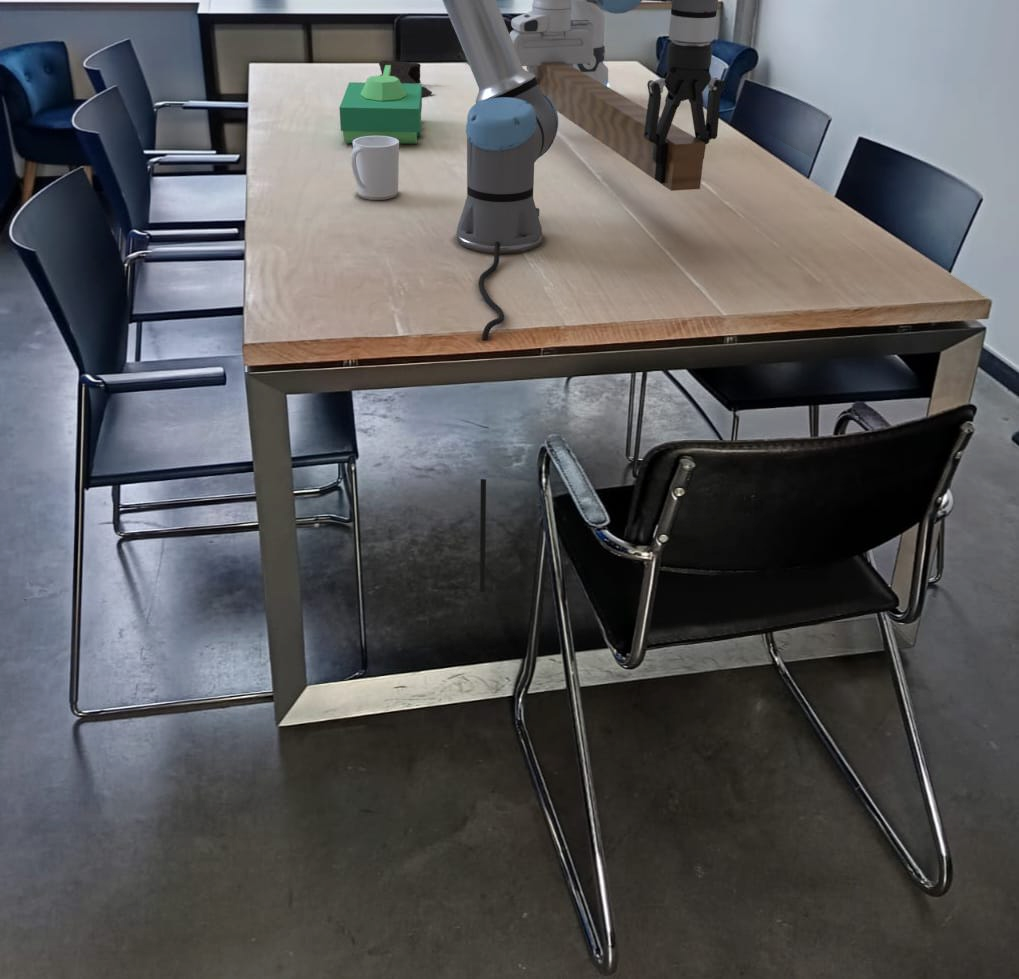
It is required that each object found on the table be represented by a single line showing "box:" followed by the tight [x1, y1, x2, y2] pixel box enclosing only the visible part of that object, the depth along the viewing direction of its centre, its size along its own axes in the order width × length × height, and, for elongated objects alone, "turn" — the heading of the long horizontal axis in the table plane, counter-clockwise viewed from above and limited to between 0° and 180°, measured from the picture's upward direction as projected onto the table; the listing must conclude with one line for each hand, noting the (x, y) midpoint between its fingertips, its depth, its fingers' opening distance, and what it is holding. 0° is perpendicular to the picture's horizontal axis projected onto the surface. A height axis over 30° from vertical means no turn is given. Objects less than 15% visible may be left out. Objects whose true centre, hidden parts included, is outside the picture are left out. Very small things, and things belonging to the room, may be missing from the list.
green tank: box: [339, 65, 423, 145], centre depth 261 cm, size 18×12×35 cm
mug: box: [350, 136, 400, 201], centre depth 214 cm, size 11×9×10 cm
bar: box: [533, 62, 706, 192], centre depth 223 cm, size 81×6×8 cm, turn 17°
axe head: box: [378, 59, 433, 97], centre depth 299 cm, size 18×8×15 cm
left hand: (675, 179), depth 195 cm, fingers closed on bar, 6 cm apart
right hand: (549, 84), depth 253 cm, fingers closed on bar, 5 cm apart
